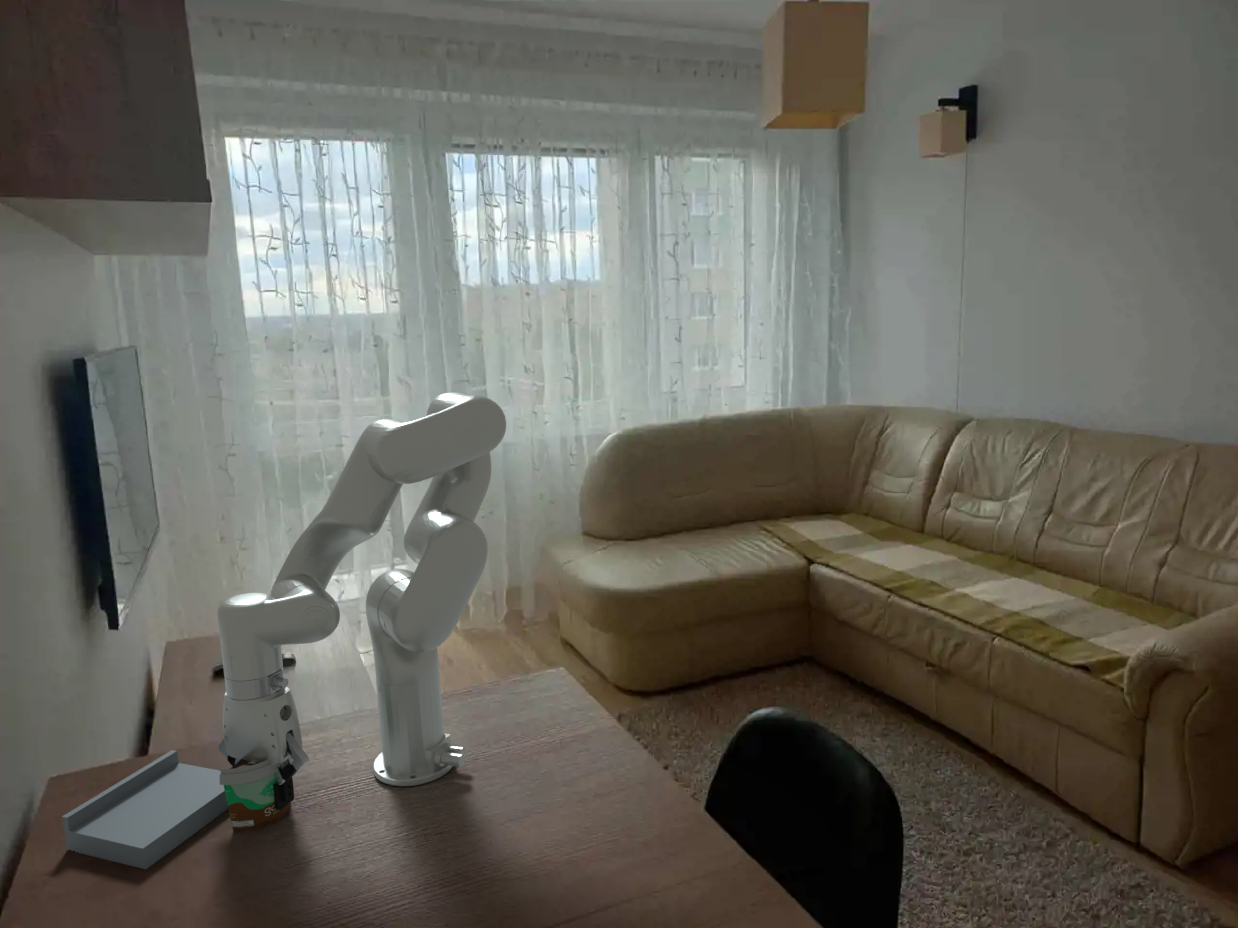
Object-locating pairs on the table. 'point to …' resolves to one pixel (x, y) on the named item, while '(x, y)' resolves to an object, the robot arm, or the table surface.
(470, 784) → the table surface
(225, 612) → the robot arm
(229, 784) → the food container
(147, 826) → the stand
